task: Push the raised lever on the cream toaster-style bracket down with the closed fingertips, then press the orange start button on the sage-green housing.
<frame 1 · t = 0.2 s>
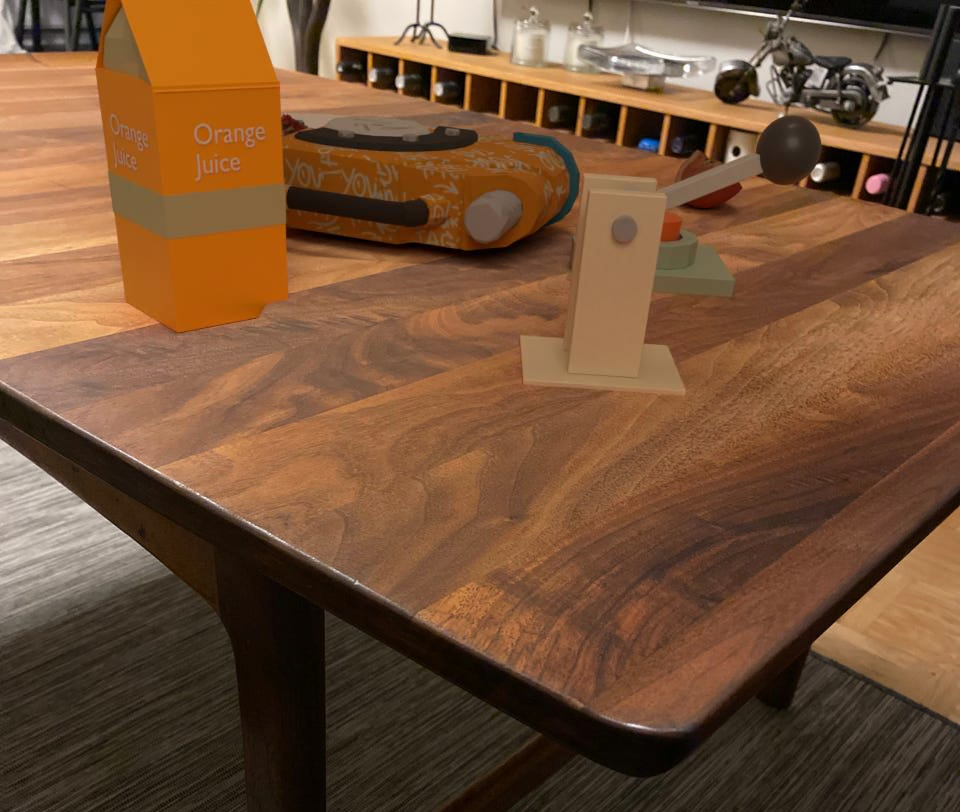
orange patterned backpack: (387, 235, 92), on the table
lever: (705, 183, 60), point 12 cm above the table, hinge at 25.0°
toaster bracket: (596, 379, 67), on the table
fruit slice: (703, 208, 110), on the table
plated food: (322, 156, 118), on the table
orange juice: (207, 309, 73), on the table
button housing: (646, 284, 85), on the table
start button: (655, 227, 82), point 4 cm above the table, slide at 0.1 cm
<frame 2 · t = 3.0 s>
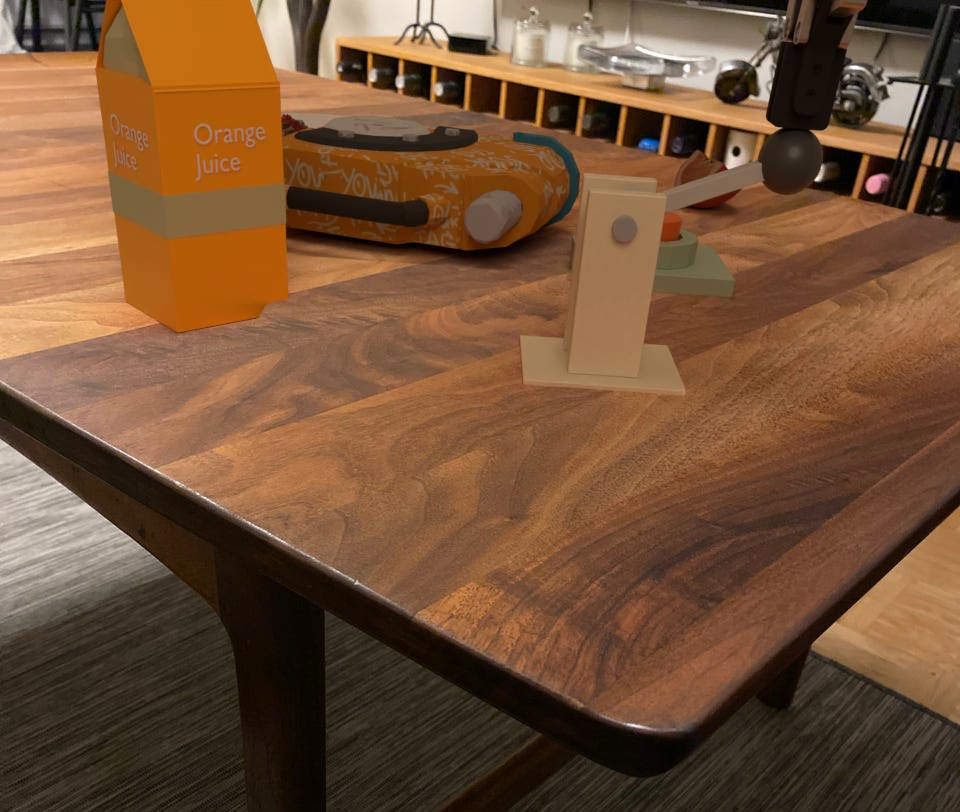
hand: (795, 125, 58), 16 cm above the table, tool pointing down, fingers closed
lever: (706, 188, 60), point 12 cm above the table, hinge at 21.7°, touching gripper
everything else where it was.
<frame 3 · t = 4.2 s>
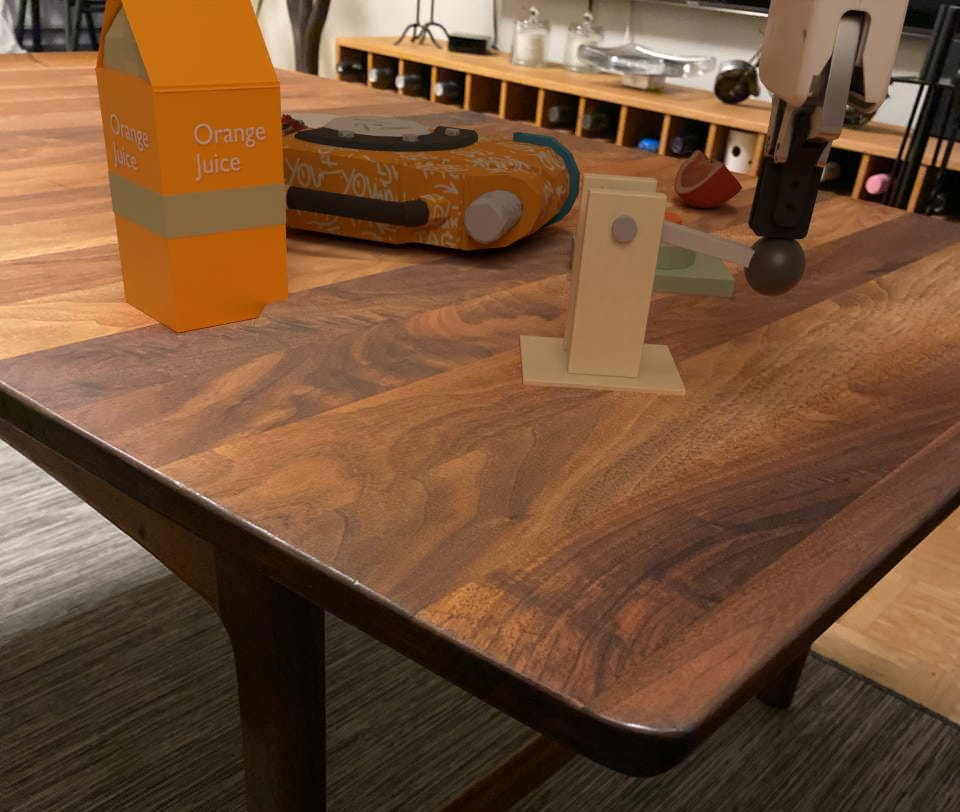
hand: (776, 233, 61), 10 cm above the table, tool pointing down, fingers closed
lever: (701, 242, 62), point 9 cm above the table, hinge at -12.2°, touching gripper
everything else where it was.
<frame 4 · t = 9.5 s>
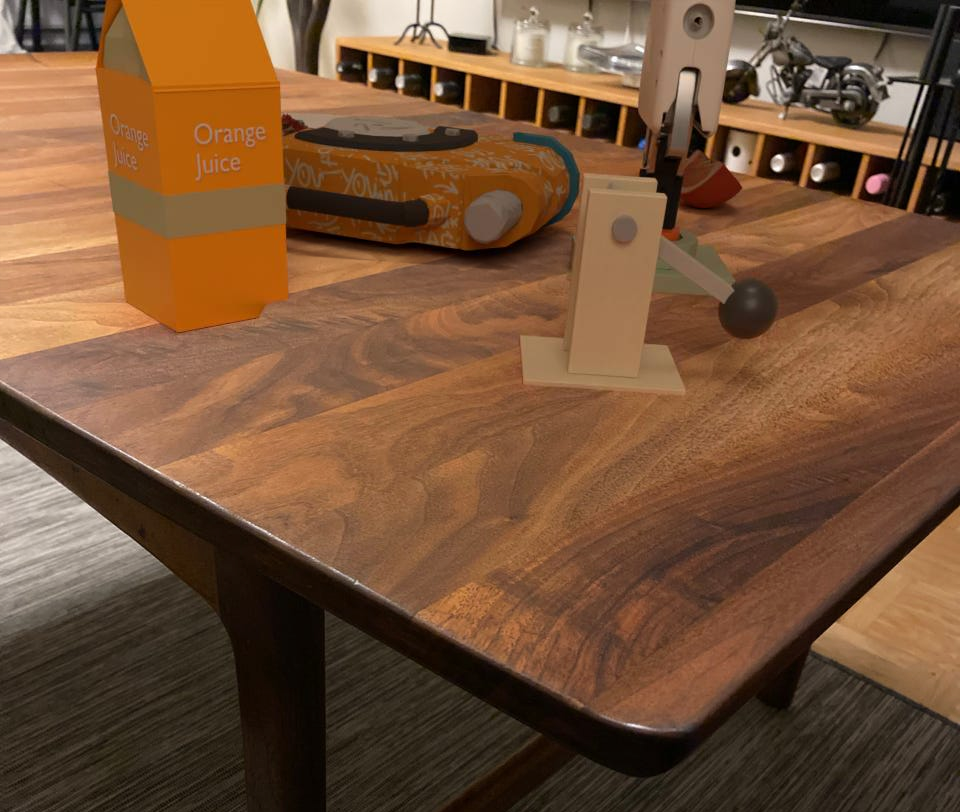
hand: (653, 225, 82), 5 cm above the table, tool pointing down, fingers closed
lever: (687, 266, 62), point 7 cm above the table, hinge at -29.0°
start button: (653, 237, 83), point 4 cm above the table, slide at -0.7 cm, touching gripper
everything else where it was.
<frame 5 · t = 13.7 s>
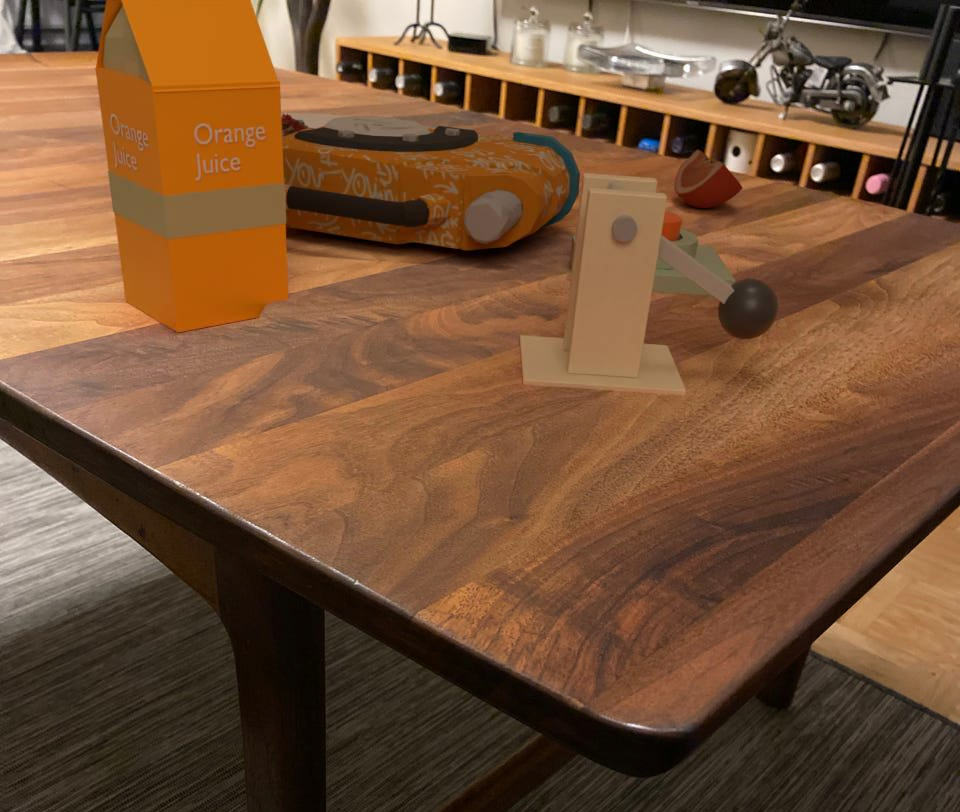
start button: (655, 227, 82), point 4 cm above the table, slide at 0.1 cm
everything else where it was.
at the end: lever at -29° (first picture: +25°); start button pushed in 1.1 cm at the most during the clip, back to where it started at the end; start button slide at 0.1 cm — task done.
